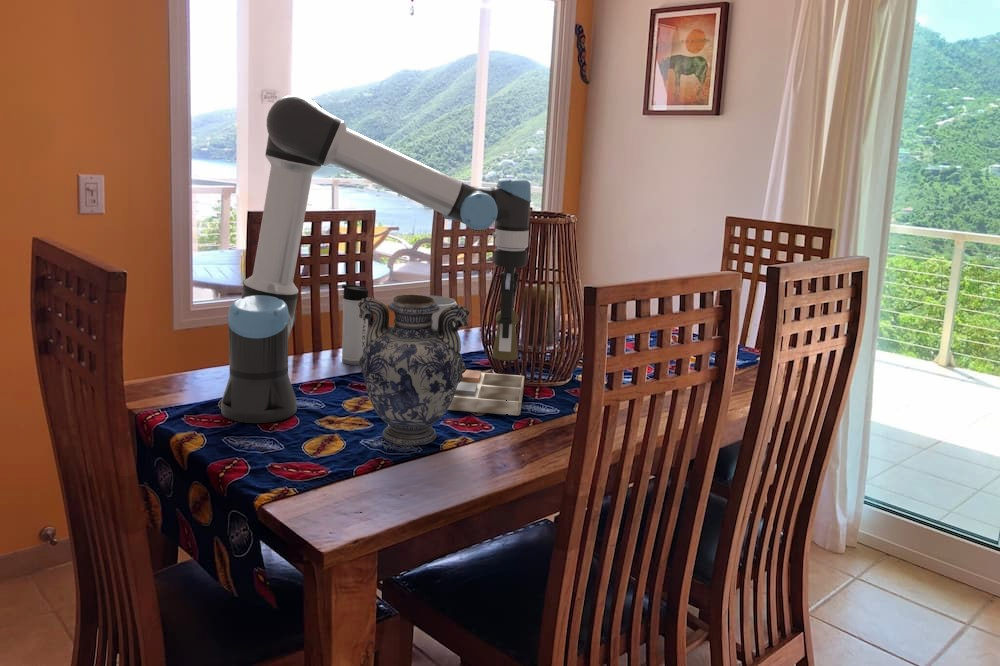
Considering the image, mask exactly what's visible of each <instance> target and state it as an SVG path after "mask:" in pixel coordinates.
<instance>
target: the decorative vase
mask: <svg viewBox="0 0 1000 666" xmlns="http://www.w3.org/2000/svg"><path fill="white" fill-rule="evenodd" d="M427 296H428V295H421V294H420V295H419V294H403V295H402V294H401V295H396V296H395V297H393V300H392V301H391V302H389V304H388V305H387V306H386V305H385V304H384V303H383V302H382V301H380V300H378V299H376V298H375V297H370V296H368V297H367V298H366V299H364V298H362V299H361V302H359V303H358V306H359V308H360V314H359V317H360V318H363V319H367V320H368V325H369V326H368V331H367V334H366V347H364V349H363V355H362V356H361V358H360V361H359V365H358V366H359V367H360V369H361V370H360V371H361V374H362V376H363V379H364V383H365V389H366V392H367V395H368V398H369V401H370V402H371V405H372V408H373V410H375V413H376V415H377V416H378V417H379V418H380V419H381V420H382V421H383V422H384V423H385V424H387V425H388V426H386V427H385V428H384V429H383V431H382V438H383V440H385V441H386V442H387V443H390V444H394V445H399V446H403V447H404V446H406V447H408V446H409V447H410V446H415V447H416V446H423V445H427V444H430V443H432V442H434V440H436V438H437V431H436V430H435V428H433V425H435V424H436V423H437V422H439V421H440V420H441V418H442V417H443V416H444V415H445V414H446V412H447V411H448V410H447V409H448V408H449V406H450V404H451V402H452V400H453V398H454V395H455V392H456V389H457V385H458V383H460V381H461V379H462V378H463V375H462V374H463V373H464V372H465V371H466V370H467V367H466V364H465V362H464V361H463V356H462V354H461V350H462V342H461V341H462V340H461V337H460V335H459V332H458V330H459V328H462V327H468V326H469V323H468V319H469V318H468V316H469V315H470V311H469V310H468V309H467V307H466V306H462V305H461V304H457V305H452V306H451V307H449V308H446V309H445V310H443V311H442V313H441V314H440V315H439V319H438V329H436V330H435V329H433V327H432V323H433V320H432V315H433V313H436V312H438V311H439V310H440V308H439V306H438V305H437V304H436V303H435V301H434V299H433V298H431V297H427ZM389 310H390V311H391V312H394V313H393V314H394V319H393V322H394V325H389V324H390V312H389ZM373 314H374V315H373ZM453 322H454V323H455V327H454V326H453Z"/></svg>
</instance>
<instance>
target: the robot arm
mask: <svg viewBox="0 0 1000 666" xmlns="http://www.w3.org/2000/svg"><path fill="white" fill-rule="evenodd" d="M266 129H267V130H266V131H267V134H268V136H267V142H266V148H265V154H264V156H265V158H266V160H267V161H268V162H269V164H270V170H269V176H268V181H267V182H268V183H267V188H266V194H265V199H264V206H263V211H262V219H261V225H260V229H259V237H258V242H257V245H256V246H257V248H256V253H255V260H254V266H253V271H252V275H251V276H249V277H247V278H246V279H245V280H244V282H243V285H242V290H241V291H242V292H241V298H238V299H235V300H234V301H233V302H232V303H231V304H230V305H229V308H228V315H227V324H228V349H229V350H228V363H229V377H228V379H227V380H228V381H227V383H226V386H225V389H224V391H223V396H222V397H221V398H222V399H221V402H220V411H221V412H220V413H221V415H222V417H224V418H225V417H226V418H225V419H227V418H228V420H230V419H231V421H233V420H234V421H233V422H237V421H238V422H237V423H243V422H244V423H245V424H266V423H273V422H279V421H282V420H286V419H288V418H291V417H292V416H294V415H295V414H296V413H297V412H298V411H297V409H298V406H297V404H298V401H297V397H296V393H295V391H294V388H293V386H292V382H291V379H290V376H289V338H290V335H291V331H292V328H293V327H294V325H295V321H296V307H297V302H298V296H299V289H298V288H297V286H296V285H295V283H294V280H295V279H294V277H295V272H296V267H297V261H298V260H297V259H298V256H299V250H300V245H301V239H302V234H303V228H304V223H305V218H306V212H307V205H308V200H309V194H310V190H311V183H312V177H313V174H314V173H315V172H317V171H318V170H320V169H321V168H322V166H324V167H325V166H329V165H334V166H336V167H339V168H340V169H343V170H345V171H348V172H350V173H351V174H354V175H355V176H358V177H361V178H363V179H365V180H367V181H369V182H372V183H374V184H376V185H378V186H380V187H383V188H385V189H387V190H389V191H391V192H394V193H397V194H398V195H400V196H401V197H404V198H407V199H409V200H411V201H414V202H416V203H419V204H420V205H423V206H425V207H427V208H429V209H431V210H433V211H435V212H438V213H441V214H442V216H443V218H444V219H445V220H447V221H448V220H449V221H456V222H460V223H462V224H464V225H465V226H466V227H468V228H470V229H472V230H475V231H476V230H477V231H478V230H479V231H483V230H486V229H488V228H490V227H491V226H493V224H494V223H495V231H494V232H492V233H491V234H492V237H494V238H495V239H494V246H495V247H496V248H495V249H494V250H493V264H494V266H497V267H500V268H501V267H503V271H502V272H501V273H500V277H499V281H500V293H501V302H500V304H501V305H500V311H501V318H500V321H497V322H496V323H497V325H498V324H500V337H499V351H505V352H511V337H512V311H513V308H514V309H515V298H514V294H516V293H517V288H518V286H517V285H518V282H519V273H518V272H516V273H515V271H516V268H519V269H520V268H525V267H526V266H527V264H528V251H527V248H528V247H529V235H530V234H529V233H530V230H529V229H530V227H529V226H530V213H531V202H532V198H531V195H532V193H531V192H532V191H531V189H532V188H531V187H532V186H531V183H530V181H529V180H528V179H524V178H510V177H507V178H506V177H501V178H499V179H498V180H497V184H496V186H490V187H487V186H473V185H469V184H467V183H465V182H462V181H461V180H458V179H456V178H454V177H453V176H450V175H448V174H446V173H443V172H441V171H439V170H437V169H435V168H432V167H430V166H429V165H426V164H424V163H422V162H420V161H418V160H416V159H415V158H411V157H409V156H407V155H405V154H403V153H401V152H399V151H397V150H395V149H392V148H390V147H388V146H386V145H384V144H382V143H380V142H377V141H376V140H373V139H371V138H369V137H367V136H364V135H363V134H361V133H359V132H356V131H354V130H352V129H350V128H348V127H347V126H346V124H345V121H344V120H343V119H341V118H338V117H337V116H335V115H333V114H331V113H329V112H328V111H326V110H325V109H324V107H323V106H322V105H321V104H320V103H319V102H317V100H315V99H313V98H309V97H307V96H306V95H305V96H303V95H298V94H293V95H291V94H290V95H286V96H284V97H281V98H279V99H278V100H276V101H275V102H274V103H273V105H272V106H271V107H270V109H269V111H268V113H267V117H266Z"/></svg>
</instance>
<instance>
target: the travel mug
mask: <svg viewBox="0 0 1000 666" xmlns="http://www.w3.org/2000/svg"><path fill="white" fill-rule="evenodd" d="M341 289H343V291H342V292H343V293H342V294H343V296H342V298H343V299H342V336H341V337H342V339H341V340H342V343H341V344H342V348H341V350H342V351H341V352H342V353H341V355H342V356H341V362H342V363H343V364H345V365H348V366H360V365H359V361H360V358H361V356H362V355H363V349H364V347H366V334H367V331H368V328H369V326H368V325H369V324H368V320H367V319H363V318H360V317H359V314H360V308H359V306H358V303H359V302H361V299H362V298H364V299H366V298H367V297H369V289H367V287H365V286H360V285H355V284H342V285H341Z"/></svg>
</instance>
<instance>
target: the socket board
mask: <svg viewBox="0 0 1000 666" xmlns="http://www.w3.org/2000/svg"><path fill="white" fill-rule="evenodd" d="M462 375H463V378H462V379H461V381H460V383H458V385H457V389H456V392H455V395H454V398H453V400H452V402H451V404H450V406H449V408H448V409H447V411H460V412H470V413H482V414H483V413H484V414H496V415H506V414H508V415H509V416H519V415H520V416H521V410H522V403H523V395H524V388H525V387H524V386H525V375H517V374H503V373H502V374H501V373H491V372H482V370H472V369H466V371H465V372H464V373H463V374H462ZM506 400H507V401H506ZM508 415H507V416H508Z"/></svg>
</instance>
